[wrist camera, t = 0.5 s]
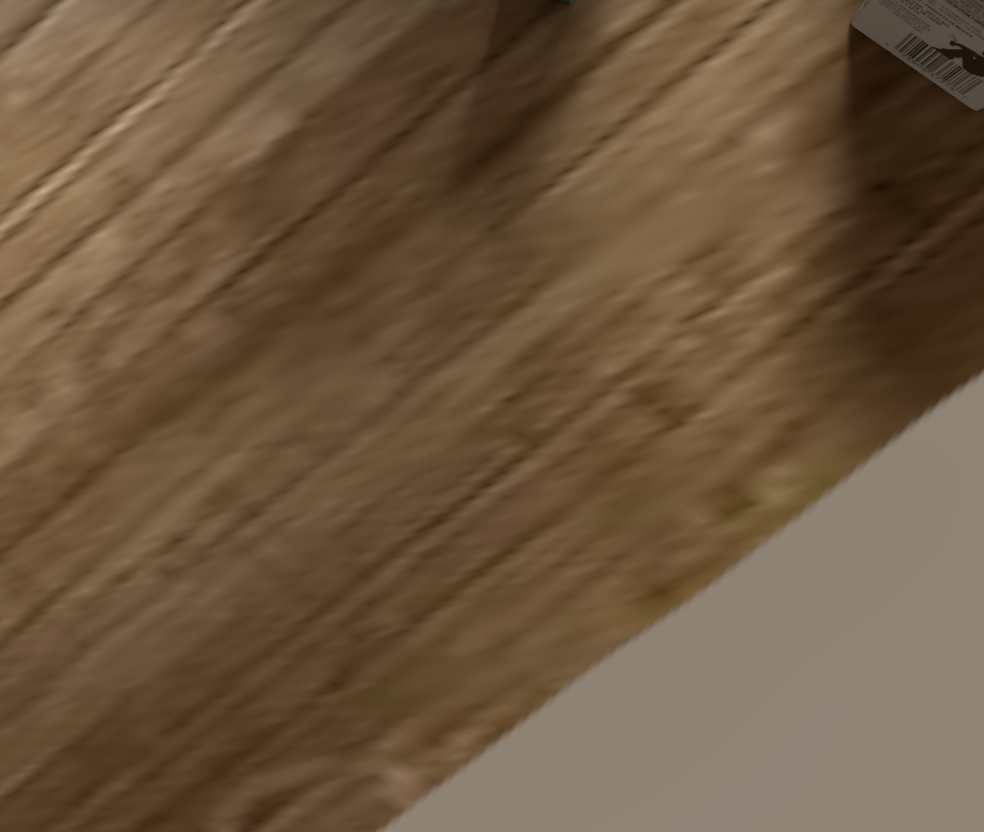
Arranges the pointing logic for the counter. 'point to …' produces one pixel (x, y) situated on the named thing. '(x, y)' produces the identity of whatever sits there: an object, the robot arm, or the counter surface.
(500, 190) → the counter surface
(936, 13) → the coffee box
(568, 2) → the crayon box
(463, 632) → the counter surface
